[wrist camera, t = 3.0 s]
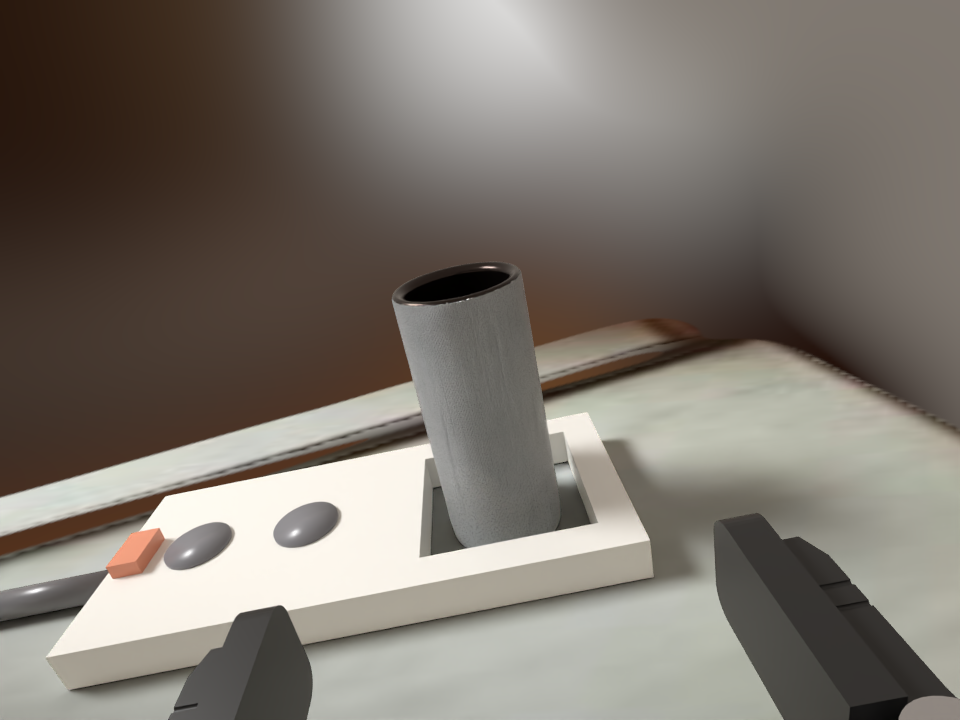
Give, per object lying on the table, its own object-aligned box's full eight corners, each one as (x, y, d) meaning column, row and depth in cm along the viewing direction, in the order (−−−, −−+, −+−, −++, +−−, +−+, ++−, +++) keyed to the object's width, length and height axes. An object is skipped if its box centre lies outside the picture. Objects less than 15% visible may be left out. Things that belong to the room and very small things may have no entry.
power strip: (-128, 727, 20) (-168, 685, 19) (39, 550, 28) (17, 514, 27) (653, 576, 19) (648, 525, 19) (591, 440, 28) (585, 401, 27)
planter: (515, 472, 27) (472, 256, 23) (585, 515, 23) (547, 267, 19) (433, 521, 24) (369, 293, 20) (496, 577, 21) (433, 312, 17)
